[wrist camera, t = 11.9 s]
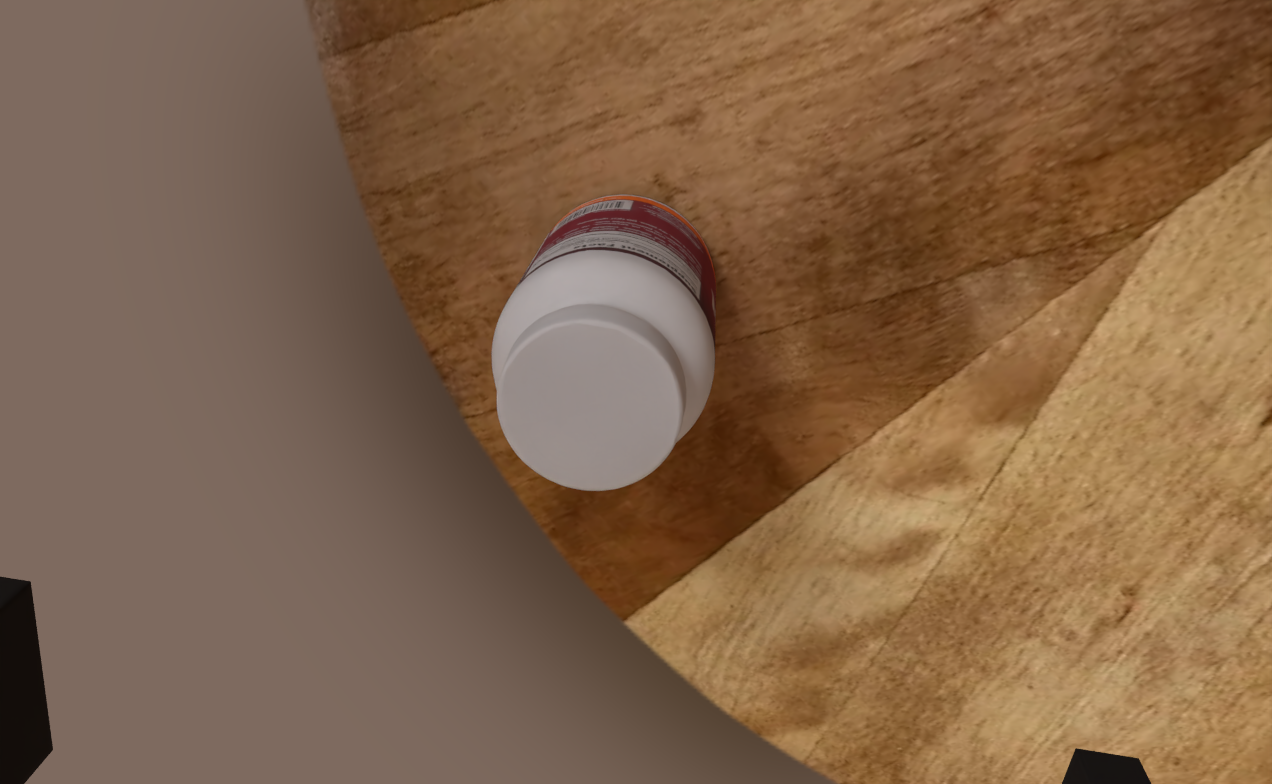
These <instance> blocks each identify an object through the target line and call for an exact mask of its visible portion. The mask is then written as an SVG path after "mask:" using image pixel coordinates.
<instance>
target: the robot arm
mask: <svg viewBox="0 0 1272 784" xmlns="http://www.w3.org/2000/svg"><path fill="white" fill-rule="evenodd" d="M52 750H53V746H52V739H51V731H50V725H49V716H48V709H47V701H46V694H45V686H44V679H43V671H42V664H41V656H40V649H39V641H38V634H37V627H36V619H35V611H34V604H33V596H32V589H31V582H30V581H24V580H17V579H11V578H5V577H0V784H24V783H25V782H26V781H27V780H28V779H29V777H30V776H31V775H32V774H33V773H34V772H35V770H36V769H37V768H38V767H39V765H40V764H41V763H42V762H43V761H44V760H45V758H46V757H47V756H48V755H49V754H50V753H51V751H52ZM1062 784H1151V782H1150V780H1149V778H1148V776H1147V774H1146V772H1145V770H1144V768H1143V766H1142V764H1141V762H1140V760H1139V758H1133V757H1126V756H1120V755H1114V754H1108V753H1101V752H1095V751H1089V750H1082V749H1075V752H1074V754H1073V757H1072V759H1071V762H1070V764H1069V767H1068V770H1067V772H1066V775H1065V777H1064V780H1063V782H1062Z"/></svg>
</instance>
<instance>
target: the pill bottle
mask: <svg viewBox="0 0 1272 784" xmlns="http://www.w3.org/2000/svg"><path fill="white" fill-rule="evenodd" d="M715 311H716V278H715V272H714V267H713V263H712V259H711V256H710V253H709V251H708V248H707V246H706V244H705V242H704V241H703V239H702V237H701V236H700V234H699V233H698V231H697V230H696V229H695V228H694V227H693V226H692V224H691V223H690V222H689V221H688V220H687V219H686V218H684V217H683V216H682V215H681V214H679V213H678V212H677V211H675V210H674V209H672V208H670V207H669V206H667V205H665V204H663V203H661V202H658V201H656V200H653V199H650V198H646V197H642V196H636V195H610V196H604V197H600V198H596V199H593V200H591V201H588V202H586V203H584V204H582V205H580V206H578V207H576V208H574V209H573V210H572V211H570V212H569V213H568V214H566V215H565V216H564V217H563V218H562V219H561V220H560V221H559V222H558V223H557V224H556V225H555V226H554V227H553V228H552V230H551V231H550V232H549V234H548V235H547V237H546V239H545V240H544V242H543V243H542V245H541V247H540V248H539V250H538V252H537V253H536V255H535V256H534V258H533V260H532V261H531V263H530V265H529V267H528V268H527V270H526V272H525V273H524V275H523V277H522V278H521V280H520V282H519V283H518V285H517V287H516V288H515V290H514V292H513V293H512V295H511V297H510V298H509V299H508V300H507V303H506V305H505V306H504V309H503V311H502V313H501V315H500V318H499V320H498V323H497V326H496V330H495V333H494V338H493V344H492V370H493V376H494V381H495V385H496V389H497V412H498V417H499V421H500V425H501V428H502V430H503V433H504V435H505V437H506V439H507V441H508V442H509V444H510V446H511V447H512V449H513V450H514V451H515V453H516V454H517V455H518V456H519V458H520V459H521V460H522V461H523V462H524V463H525V464H527V465H528V466H529V467H530V468H531V469H532V470H534V471H535V472H537V473H538V474H540V475H541V476H543V477H545V478H546V479H548V480H550V481H553V482H555V483H557V484H560V485H562V486H566V487H569V488H574V489H579V490H586V491H605V490H613V489H617V488H621V487H624V486H627V485H630V484H632V483H635V482H637V481H639V480H641V479H642V478H644V477H646V476H647V475H649V474H650V473H651V472H653V471H654V470H655V469H656V468H657V467H659V466H660V465H661V463H662V462H663V461H664V460H665V459H666V458H667V457H668V455H669V454H670V452H671V451H672V449H673V447H674V445H675V444H676V442H677V441H679V440H680V439H681V438H682V437H683V436H684V435H685V434H686V433H687V432H688V431H689V430H690V429H691V427H692V426H693V425H694V423H695V422H696V421H697V419H698V417H699V416H700V414H701V413H702V411H703V409H704V407H705V404H706V402H707V399H708V397H709V394H710V390H711V386H712V382H713V377H714V367H715Z"/></svg>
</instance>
